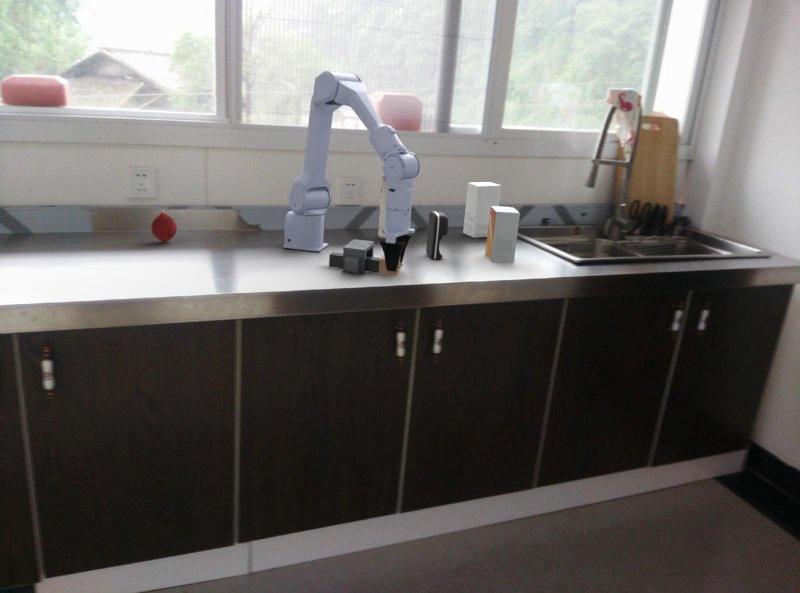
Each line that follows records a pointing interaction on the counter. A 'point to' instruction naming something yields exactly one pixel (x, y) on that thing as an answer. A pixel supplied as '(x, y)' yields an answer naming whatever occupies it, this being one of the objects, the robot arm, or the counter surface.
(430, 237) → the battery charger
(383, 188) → the aerosol can
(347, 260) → the housing
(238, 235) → the counter surface
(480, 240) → the counter surface
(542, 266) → the counter surface
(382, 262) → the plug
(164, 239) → the onion
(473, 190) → the skincare box
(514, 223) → the small box
